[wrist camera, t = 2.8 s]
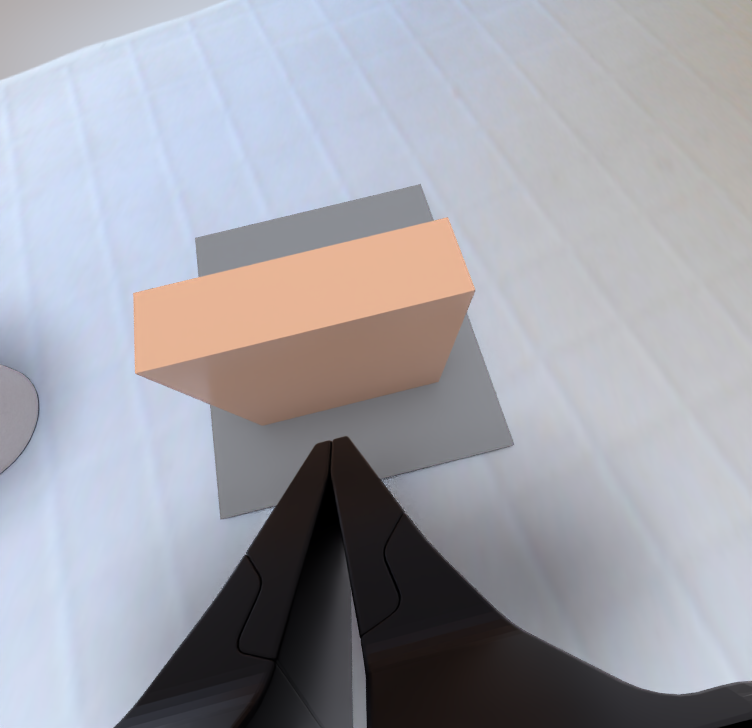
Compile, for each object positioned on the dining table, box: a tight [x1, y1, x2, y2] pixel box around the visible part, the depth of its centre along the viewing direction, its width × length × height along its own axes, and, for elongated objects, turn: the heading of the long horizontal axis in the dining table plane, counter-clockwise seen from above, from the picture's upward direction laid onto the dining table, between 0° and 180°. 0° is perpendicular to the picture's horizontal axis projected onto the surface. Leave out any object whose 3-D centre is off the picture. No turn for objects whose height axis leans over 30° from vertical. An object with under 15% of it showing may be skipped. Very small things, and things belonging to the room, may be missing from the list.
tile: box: [133, 217, 475, 426], centre depth 14 cm, size 2×9×9 cm, turn 104°
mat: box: [195, 184, 514, 519], centre depth 19 cm, size 16×14×1 cm
